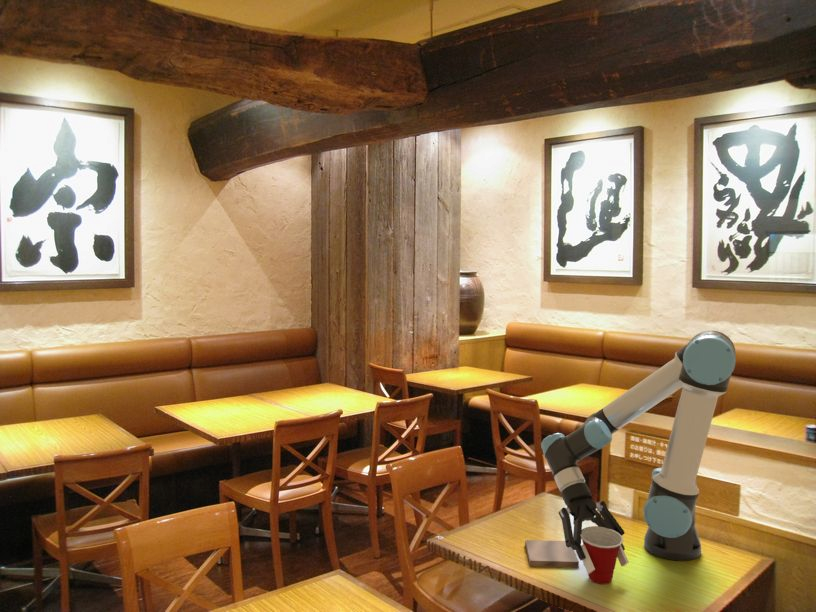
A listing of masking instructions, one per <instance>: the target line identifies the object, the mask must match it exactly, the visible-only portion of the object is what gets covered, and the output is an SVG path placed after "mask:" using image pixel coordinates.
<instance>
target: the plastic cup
mask: <svg viewBox="0 0 816 612" xmlns="http://www.w3.org/2000/svg"><path fill="white" fill-rule="evenodd" d="M580 536H581V542H582V545H584V544H585V547H586V549H587V551H588V554H589V556H590V558H591V561H592V563H593V565H594V568H595V570H594V571H593V572H592V573H590V574H588V573H587V575H588V579H589V580H590V581H591V582H593V583H594V584H600V585H606V584H607V585H608V584H609V583H611V582H612V580H613V576H614V574H615V573H614V572H615V569H616V564H617V560H618V558H617V555H618V551H619V547H620V545H621V544H622V543H623V542H624V537H623V535H622V536H621V535H620V534H619V533H618V532H616V531H614V530H612V529H608V528H605V527H598V526H597V525H593V526H587V527H584V528H582V534H580Z"/></svg>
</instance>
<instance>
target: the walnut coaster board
mask: <svg viewBox="0 0 816 612" xmlns="http://www.w3.org/2000/svg"><path fill="white" fill-rule="evenodd" d="M524 541H525V542H524V543H525V550H526V554H527V557H528V562H529V566H530V567H551V568H552V567H556V568H557V567H559V568H560V567H561V568H579V567H580V564H579V563H580V561H579V557H578V555H577V553H576V550H573V549H572V547H569V548H568V547H567V546H566V543H565V540H536V539H534V540H533V539H525V540H524Z"/></svg>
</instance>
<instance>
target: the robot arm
mask: <svg viewBox="0 0 816 612" xmlns="http://www.w3.org/2000/svg"><path fill="white" fill-rule="evenodd" d="M735 347H736V346H735V345H734V343H733V340H731V338H730V337H729V336H727V335H726V334H725V333H723V332H721V331H718V330H711V329H710V330H703V331H701V332H699V333H696V335H694V336H693V337H692V338H691V340H689V342H688V343H686V344H685V345H684V346H683V347H681V348H680V349H679V350H677V351H676V352H675V353H674V354H675V355H674V357H673V358H672V359H671V360H670V361H668V362H667V363H665V364H664V365H663V366H661V367H660V368H658V369H656V370H655V371H654V372H652V373H651V374H650V375H648V376H647V377H645V378H643V380H641V381H639V382H638V383H637V384H635V385H634V386H632V387H630V389H628V390H627V391H625V392H624V393H622V394H621V395H620V396H618V397H616V398H615V399H614V400H612V401H611V402H610V403H608V404H606V405H605V406H604V407H603V408H601V409H599V410H598V411H596V412H595V413H594V412H593V413H591V415H589V416H588V417H587V418H586V419H585V421H584V423H582V425H580V427H579V428H577V429H576V430H574V431H573V432H571V433H568V435H566V436H565V434H563V433H561V432H557V433H553V434H549V435H547V436H546V437H545V438H543V440H542V441H541V444H540V446H541V450H542V452H543V457H544V458H545V460H546V462H547V465H548V467H549V469H550V472H551V474H552V475H553V479H554V481H555V483H556V486H557V487H558V490H559V492H560V495H561V497H562V500H563V501H564V502H563V503H564V504H565V506H566V507H562V508H561V509H560V510H559V511H558V515H559V517H560V519H561V524H562V530H563V536H564V541H565V543H566V546H567V547H568V548H569V547H572V549H573V550H574V551H575V553H576V556H577V558H578V560H580V561H582V563H583V565H584V568H585V570H586V573H587V575H588V574H590V573H592V572H593V571H594V570H595V568H594V565H593V563H592V561H591V558H590V556H589V554H588V551H587V549H586V547H585V544H584V545H583V544H582V538H581V536H580V534H582V529H583V522H585V521H587V522H588V521H590V522H591V523H594V524H595V526H598V527H605V528H608V529H612V530H614V531H616V532H618V533H619V534H620V535H621V536H622V537H623V535H625V530H624V529H623V527H622V526H621V525H620V524H619V522H618V521H617V519H616V518H615V517H614V516H613V514H612V513H611V511H610V510H609V509H608V506H607V503H606V501H604V500H602V501H600V502H596V501H595V500H593V497H592V492H591V490H590V488H589V486H588V484H587V483H586V479H585V477H584V475H583V473H582V470H581V468H580V466H579V464H578V462H579V461H582V460H583V459H584V458H587V457H588V456H590V455H592V454H593V453H595V452H597V451H599V450H601V449H603V448H605V447H606V446H607V445H608V444H610V443H611V442H612V440H613V434H615V433H616V432H618V431H619V430H620V429H621V428H624V427H625V426H626V425H628V424H629V423H630V422H632V421H634V420H635V419H637V418H638V417H640V416H641V415H643V414H644V413H646V412H647V411H649V410H650V409H652V408H653V407H655V406H656V405H658V404H659V403H660V402H662V401H663V400H666V398H669V397H670V396H671V395H673V394H674V393H676V392H677V391H679V390H680V389H682V390H681V394H680V398H679V401H678V405H677V408H676V411H675V416H674V421H673V424H672V427H671V431H670V435H669V438H668V443H667V447H666V451H665V453H664V459H663V462H662V466H661V467H657V468H654V469H653V470H652V472H651V483H650V487H649V492H648V496H647V499H646V502H645V503H644V505H643V509H642V510H643V518H644V521H645V523H646V525H647V526H648V527H647V529H646V532H645V534H644V539H643V540H644V541H643V546H644V548H645V550H647V551H648V552H649V553H650V554H652V555H654V556H656V557H659V558H663V559H666V560H670V561H682V562H684V561H692V560H696V559H698V558H700V557H701V555H702V544H701V540H700V538H699V534H698V531H697V527H696V504H697V501H698V497H699V493H700V489H699V487H698V483H697V476H698V472H699V469H700V465H701V462H702V458H703V455H704V450H705V447H706V443H707V439H708V435H709V432H710V429H711V424H712V421H713V417H714V413H715V410H716V407H717V404H718V399H719V397H721V396H723V395H724V394H726V393H727V391H728V388H729V385H730V381H731V376H732V373H733V372H734V371H735V367H736V363H737V361H736V360H737V358H736V357H737V356H736V348H735ZM570 515H571V516H573V524H572V522H571V516H570ZM572 525H573V528H572ZM625 550H626V548H625V545H624V543H623V542H622V544H621V545H620V547H619V551H618V555H617V560H618V563H619V564H620V566H621V567H623V568H624V567H625V566H626V565H628V564H629V562H630V561H629V559H628V557H627V555H626V553H625Z"/></svg>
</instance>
